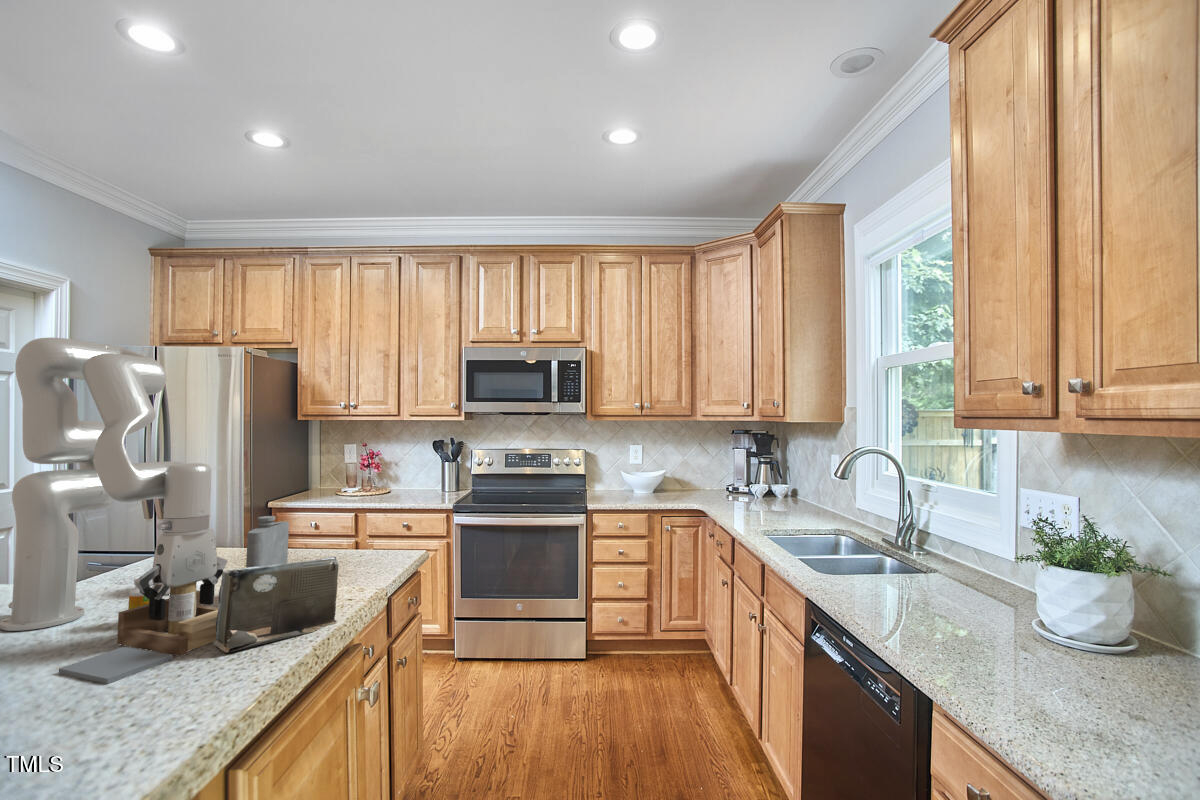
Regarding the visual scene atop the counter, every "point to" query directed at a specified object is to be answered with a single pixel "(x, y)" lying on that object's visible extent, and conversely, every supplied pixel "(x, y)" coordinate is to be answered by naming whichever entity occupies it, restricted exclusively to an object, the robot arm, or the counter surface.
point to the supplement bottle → (138, 596)
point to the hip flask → (267, 543)
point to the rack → (153, 630)
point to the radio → (275, 602)
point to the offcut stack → (199, 629)
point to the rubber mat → (115, 664)
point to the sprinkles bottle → (181, 605)
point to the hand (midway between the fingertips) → (182, 611)
